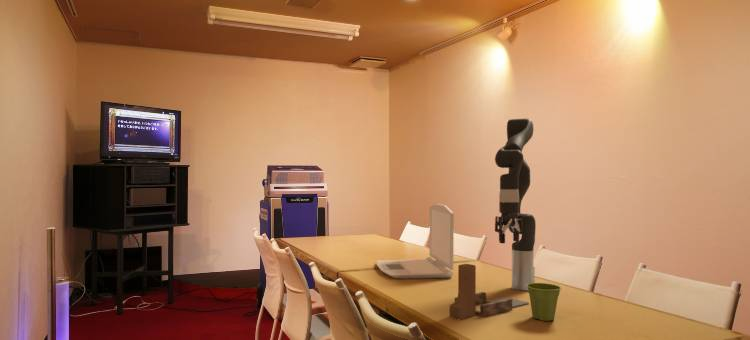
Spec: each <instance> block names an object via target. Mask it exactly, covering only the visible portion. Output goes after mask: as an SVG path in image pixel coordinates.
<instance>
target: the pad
mask: <svg viewBox="0 0 750 340" xmlns="http://www.w3.org/2000/svg"><path fill="white" fill-rule="evenodd" d="M509 298H510V299H512V309H515V308H518V307H523V306H526V305H527V306H528V305H529V303H530V302H528V301H523V300H519V299H515V298H512V297H508V296H503V297H499V298H496V299H491V300H489V301H492V302H495V301H500V300H504V299H509Z"/></svg>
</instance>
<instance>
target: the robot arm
mask: <svg viewBox="0 0 750 340" xmlns="http://www.w3.org/2000/svg"><path fill="white" fill-rule="evenodd" d="M506 124H507V125H506V136H507V137H506V138H507V140H506V143H505V145H504V146H502V147H501V148H500V149H498V150H497V152H496V154H495V157H494V162H495V164H496V166H497V167H499V168H501V169H508V172H507V173H504V174H501V175H500V176H499V196H498V197H499V200H498V201H499V202H498V203H499V204H498V205H499V207H498V208H499V210H498V211H499V213H500V214H501V215H500V216H497V215H496V216H495V218H494V219H495V220H494V232H496V233H498V242H499V244H505V243H506V234H505V233H506V231H507V230H509V232H510V233H511V234H512V236H513V237H512V239H513V242H512V244H511V289H512V290H516V291H522V292H526V291H528V287H526V284H529V283H536V282H535V266H534V247H535V242H536V241H535V240H536V230H537V229H536V226H537V224H536V218H535V217H534V215H533V214H530V213H521V206H522V205H521V204H522V201H523V198H524V197H525V195H526V194H527V192H528V190H529V188H530V186H531V168H530V166H529V165H528V163H527V161H526V160H525V158H524V154H523V150H524V147H525V146H526V144H528V143H529V141H530V140H531V139H532V137H533V136H534V122H533V121H532V119H530V118H511V119H508V121H507V123H506ZM520 235H521V237H520Z"/></svg>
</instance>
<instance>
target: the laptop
mask: <svg viewBox="0 0 750 340" xmlns="http://www.w3.org/2000/svg"><path fill="white" fill-rule="evenodd" d="M454 218H455V217H454V212H453V211H452V210H451V209H450V208H449V207H448V206H447V205H445V204H440V203H435V204H433V205H432V206H429V256H427V257H426V258H425V259H423V258H422V259H382V260H381V259H378V260H377V263H376V266H377V267H378V268H379V270H380V271H381V272H383V273H384V274H385V275H387V276H389V277H390V278H393V279H398V280H399V279H445V278H446V279H450V278H452V277H453V275H454V272H453V270H454V233H455V232H454V223H455V221H454Z"/></svg>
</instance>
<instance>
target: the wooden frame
mask: <svg viewBox="0 0 750 340" xmlns="http://www.w3.org/2000/svg"><path fill="white" fill-rule="evenodd" d="M457 297H458V296H457ZM457 297H454V302H455V301H456V300H457ZM508 298H509V299H504V300H500V301H495V302H492V301H490V300H488V299H487V292H484V291H482V292H477V293H476V304H475V306H479V310H477V309H475V316H478V315H479V316H478V317H481V316H482V318H486V316H487V317H490V315H491V316H494V315H498V314H502V313H506V312H510V311H513V308H512V299H513V298H512V299H510V298H511V297H508Z"/></svg>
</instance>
